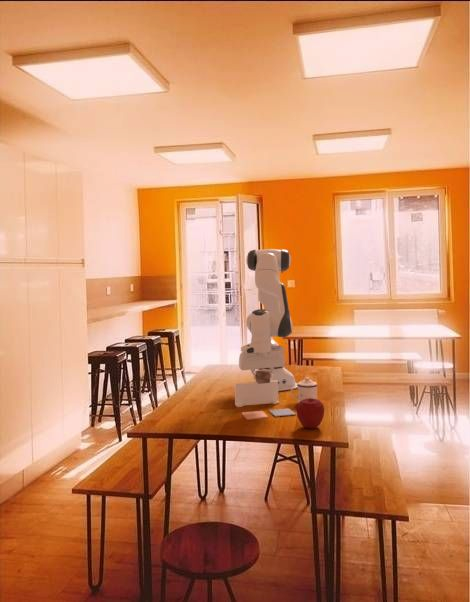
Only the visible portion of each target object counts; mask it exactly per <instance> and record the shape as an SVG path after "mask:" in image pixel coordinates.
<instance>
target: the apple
mask: <svg viewBox="0 0 470 602" xmlns="http://www.w3.org/2000/svg"><path fill="white" fill-rule="evenodd" d="M295 411H296V417H297V418H298V421H299V422H300V425H301V426H303V427H304V428H306V429H309V430H313V429H317V427H319V426H320V425H321V423H322V421H323V419H324V415H325V406H324V404H323V402H321V401H320V400H319V399H318V398H317V399H314V398H308V399H304V400H301V401H300V402H299V403H298V402H297V406H296V410H295Z"/></svg>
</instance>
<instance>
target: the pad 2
mask: <svg viewBox="0 0 470 602" xmlns="http://www.w3.org/2000/svg"><path fill="white" fill-rule="evenodd" d="M268 413H270V414H271V415H272V416H273V415H274V416H275V417H274V416H273V417H274V418H281V417H280V416H284V417H291V416H290V415H294V416H297V413H295V412H294V411H293V410H291V408H278V409H269V410H268Z"/></svg>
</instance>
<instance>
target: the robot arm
mask: <svg viewBox="0 0 470 602" xmlns="http://www.w3.org/2000/svg"><path fill="white" fill-rule="evenodd" d="M245 262H246V265H247V269H248V270H250V271H254V283H255V286H256V288H257V289H258V290H257V292H258V294H257V299H258V302H259V303H260V304H261V305H263V307H264V309H261V308H259V309H255V310H252V311H251V313H249V314H248V315H247V317H246V320H245V323H246V327H247V329H248V331H249V332H250V333H251V338H250V343H248V344H247V343H246V344H245V345H242V346H241V347H240V354H239V358H238V368H239V369H240V371H250V373H251V375H252V376H253V380H256V379H258V378H257V377H258V375H257V374H255V371H256V370H265V369H266V370H267V371H268V372H270V381H276V380H277V381H278V392H281V391H287V390H289V391H290V390H291V389H292V388H293V387H298V386H297V384H298V382H296V380H295V377H294V374H293V373H291V372H290V371H289V370H288V369H286V368H285V367H284V366H287V362H286V360H285V355H284V354H285V348H284V346H283V345H279V343H278V342H277V341H276V340H275V339H274V337H278V338H287V337H289V336H290V335H291V334H292V333H293V329H294V324H293V320H292V317H291V314H290V312H291V311H290V306H289V301H288V296H287V291H286V289H287V288H286V287H285V284H284V283H282V282H281V281H280V280H281V277H280V276H281V275H280V272H281V274H283V273H284V272H286V271H287V270H288V269H289V268H290V266H291V263H292V256H291V255H290V252H289V251H288V250H287V249H275V248H268V249H266V248H265V249H264V248H263V249H253V250H252V249H251V250H250V251H249V252H247V256H246V261H245Z"/></svg>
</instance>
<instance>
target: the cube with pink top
mask: <svg viewBox="0 0 470 602" xmlns="http://www.w3.org/2000/svg"><path fill="white" fill-rule="evenodd" d="M254 373H255V374H257V375H258V377H257V378H258V379H255V382H257V383H258V384H263V383H270V372H268V371H267V370H266V369H265V370H258V369H256V370H255V372H254Z"/></svg>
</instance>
